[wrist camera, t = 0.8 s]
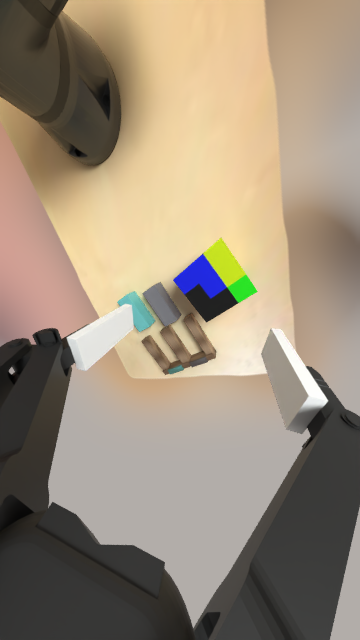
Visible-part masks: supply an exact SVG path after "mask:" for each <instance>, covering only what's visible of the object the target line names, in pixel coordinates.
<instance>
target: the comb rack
mask: <svg viewBox="0 0 360 640" xmlns="http://www.w3.org/2000/svg"><path fill="white" fill-rule="evenodd" d="M184 322H185V323H186V325H187V327H188V328H189V330H190V331H191V333H192V334H193V336H194V337H195V339H196V340H197V342H198V343H199V345H200V346H201V348H202V349H203V351H202V352H199V353H197V354H194V355H190V353H189V352H188V350H187V349H186V347H185V346H184V344H183V343H182V341H181V340H180V339H179V337H178V336H177V334H176V333H175V331H174V330H173V328H172V327H171V325H168V326H166V327H164V328H163V329H162V330H161V332H160V333H161V334H162V336H163V337H164V338H165V340H166V341H167V343H168V344H169V345H170V347H171V348H172V350H173V351H174V352H175V354H176V355H177V357H178V358H179V359H180V360H178V361H175V362H172V363H170V362H169V360H168V359H167V358H166V356H165V355H164V353H163V352H162V351H161V349H160V348H159V347H158V345H157V344H156V343H155V341H154V340H153V338H152V337H151V336H150V335H149V336H147V337H145V338H144V339H143V340H142V343H143V344H144V346H145V347H146V348H147V350H148V351H149V352H150V354H151V355H152V356H153V357H154V359H155V360H156V361H157V363H158V364H159V365H160V367H161V368H162V369H163V373H164V374H165V375H166V374H173V373H176V372H179V371H182V370H184V368H187V367H190V366H192V367H194V366H197V365H200V364H203V363H206V362H208V360H211V359H214V358H216V350H215V349H214V347H213V346H212V344H211V342H210V341H209V339H208V338H207V336H206V335H205V333H204V331H203V330H202V328H201V327H200V325H199V324H198V322H197V320H196V319H195V317H194V316H193V314H192V313H191V314H189V315H187V316H186V317H185V318H184Z"/></svg>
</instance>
